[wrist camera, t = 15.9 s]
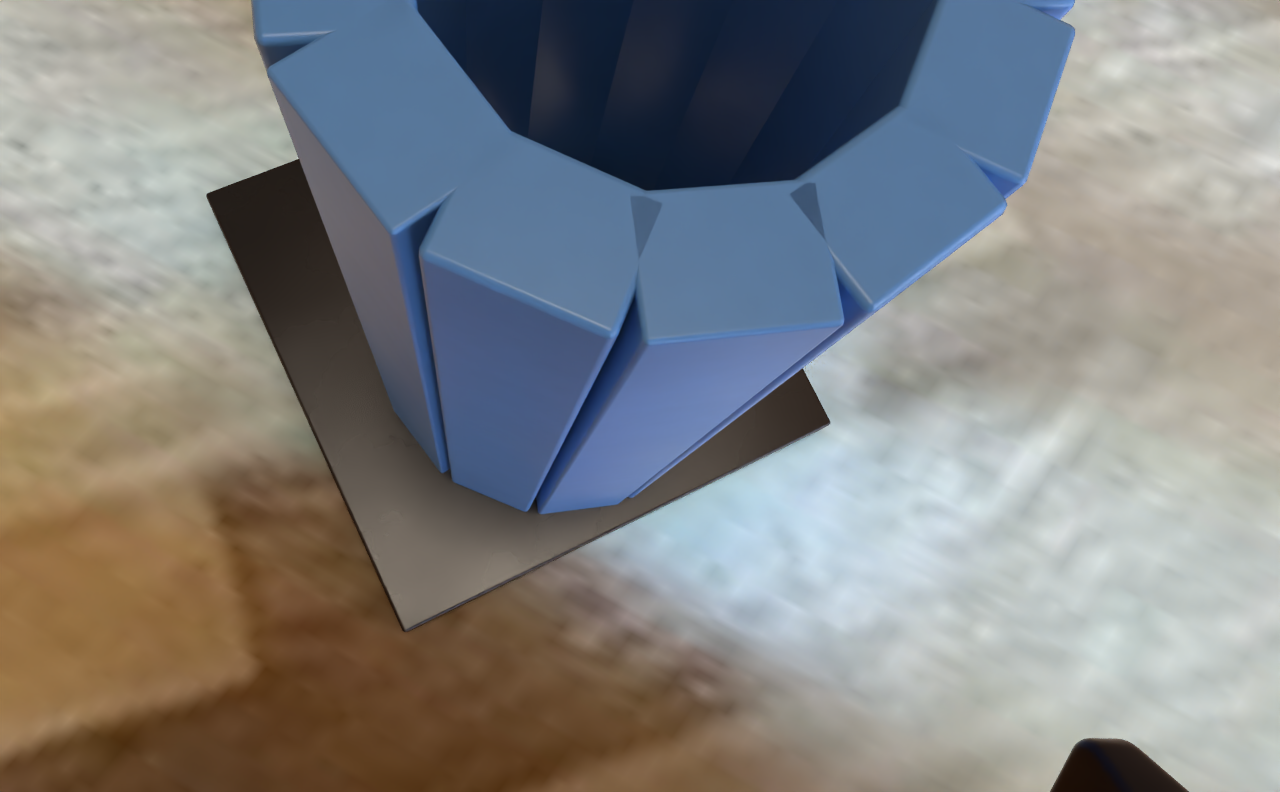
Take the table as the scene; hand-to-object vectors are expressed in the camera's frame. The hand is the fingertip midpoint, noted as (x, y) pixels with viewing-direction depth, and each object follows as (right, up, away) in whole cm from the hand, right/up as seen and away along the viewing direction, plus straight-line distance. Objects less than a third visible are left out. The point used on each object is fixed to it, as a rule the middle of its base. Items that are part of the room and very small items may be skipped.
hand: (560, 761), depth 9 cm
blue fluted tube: (-1, +4, +14) cm, 15 cm away
